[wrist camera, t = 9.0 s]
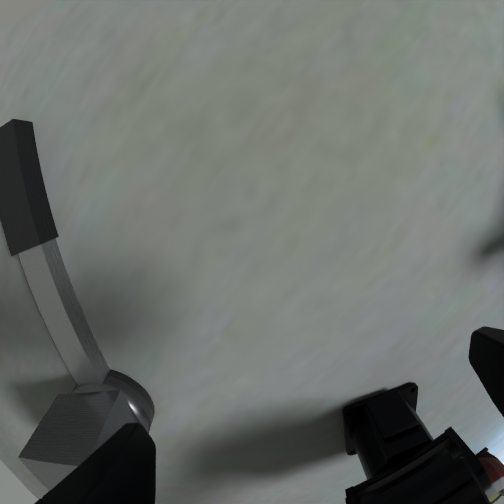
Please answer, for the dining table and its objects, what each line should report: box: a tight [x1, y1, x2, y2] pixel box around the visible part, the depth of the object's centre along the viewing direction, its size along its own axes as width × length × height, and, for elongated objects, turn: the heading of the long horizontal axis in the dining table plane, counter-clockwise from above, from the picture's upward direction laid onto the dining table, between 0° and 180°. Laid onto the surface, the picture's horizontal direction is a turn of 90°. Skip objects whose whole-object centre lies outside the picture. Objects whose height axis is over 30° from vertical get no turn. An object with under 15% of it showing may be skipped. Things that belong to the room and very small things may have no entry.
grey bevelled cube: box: [18, 389, 156, 491], centre depth 15 cm, size 6×6×7 cm
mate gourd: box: [475, 447, 504, 504], centre depth 19 cm, size 8×8×15 cm
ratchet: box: [0, 119, 154, 434], centre depth 16 cm, size 24×6×6 cm, turn 14°
